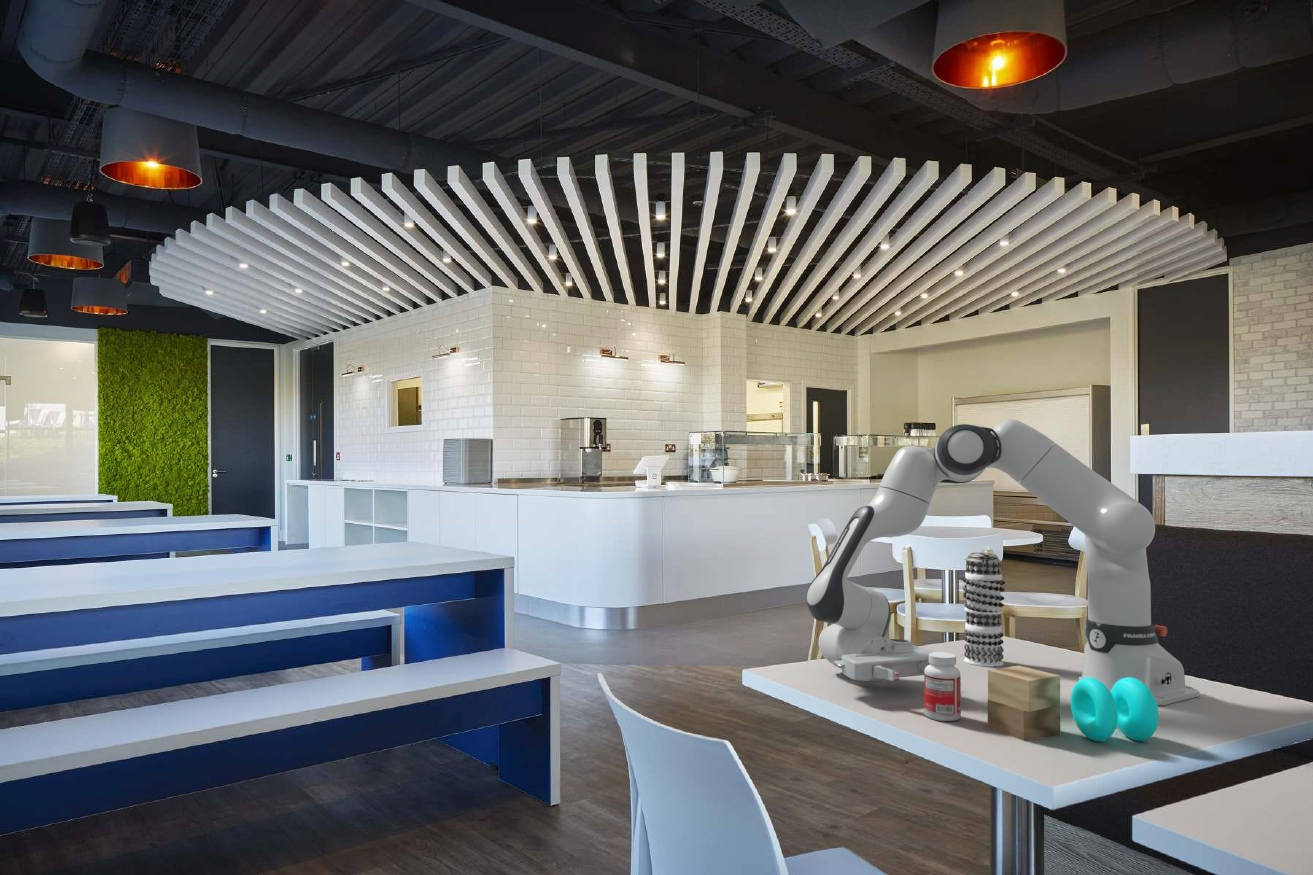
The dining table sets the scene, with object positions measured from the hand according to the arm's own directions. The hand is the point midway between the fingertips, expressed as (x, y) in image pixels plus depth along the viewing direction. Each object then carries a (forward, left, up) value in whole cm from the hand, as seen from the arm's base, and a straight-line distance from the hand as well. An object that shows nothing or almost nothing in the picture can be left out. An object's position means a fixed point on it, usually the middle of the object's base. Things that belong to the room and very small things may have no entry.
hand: (917, 674), depth 155 cm
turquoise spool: (-19, +26, -6) cm, 33 cm away
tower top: (-8, +18, -1) cm, 20 cm away
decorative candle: (-38, -25, -6) cm, 46 cm away
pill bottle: (0, +7, -6) cm, 9 cm away
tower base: (-8, +18, -6) cm, 21 cm away
